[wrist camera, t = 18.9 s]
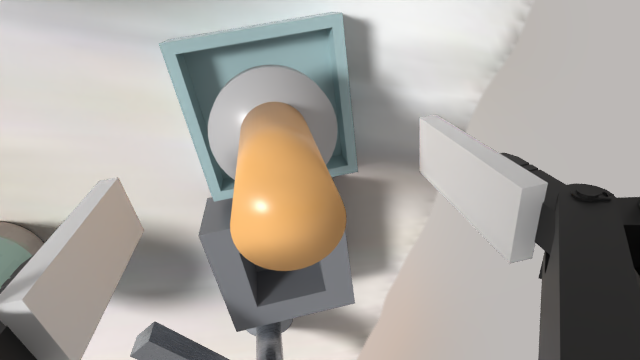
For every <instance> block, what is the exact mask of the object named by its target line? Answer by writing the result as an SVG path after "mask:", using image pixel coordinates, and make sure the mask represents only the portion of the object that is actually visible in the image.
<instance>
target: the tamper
mask: <svg viewBox="0 0 640 360" xmlns="http://www.w3.org/2000/svg"><path fill="white" fill-rule="evenodd" d="M208 139H209V144H210V148H211V150H212V153H213V155H214V157H215V159H216V161H217V162H218V164H219V165H220V167H221V168H222V169H223V170H224V171H225V172H226V173H227V174H228V175H229V176H230V177H231V178H232V179H234V180H235V184H234V193H233V202H232V211H231V220H230V232H231V236H232V239H233V242H234V244H235V246H236V248H237V249H238V250H239V252H240V253H241V254H242V255H243V256H244V257H245V258H246V259H248V260H249V261H250V262H252V263H254V264H256V265H258V266H260V267H263V268H266V269H270V270H276V271H292V270H298V269H302V268H306V267H308V266H311V265H313V264H315V263H317V262H319V261H321V260H322V259H324V258H325V257H326V256H328V255H329V254H330V253H331V252H332V251H333V250H334V249H335V247H336V246H337V245H338V243H339V242H340V240H341V238H342V236H343V234H344V231H345V227H346V210H345V207H344V204H343V201H342V199H341V197H340V195H339V193H338V190H337V188H336V186H335V184H334V182H333V180H332V177H331V175H330V173H329V171H328V169H327V167H326V165H327V163H328V162H329V160H330V158H331V156H332V154H333V151H334V149H335V145H336V141H337V120H336V115H335V112H334V109H333V107H332V105H331V103H330V101H329V99H328V98H327V96H326V95H325V93H324V92H323V91H322V90H321V89H320V88H319V86H318V85H317V84H316V83H315V82H314V81H313V80H312V79H311V78H309V77H308V76H307V75H305V74H304V73H302V72H300V71H298V70H296V69H293V68H290V67H287V66H282V65H272V64H269V65H260V66H255V67H252V68H249V69H246V70H244V71H242V72H240V73H239V74H237V75H236V76H234V77H233V78H232V79H230V80H229V81H228V82H227V83H226V84H225V86H224V87H223V88H222V89H221V91H220V92H219V94H218V96H217V98H216V100H215V102H214V105H213V107H212V110H211V112H210V116H209V121H208Z"/></svg>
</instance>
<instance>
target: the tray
mask: <svg viewBox="0 0 640 360" xmlns="http://www.w3.org/2000/svg"><path fill="white" fill-rule="evenodd" d="M159 46H160V49H161V52H162V54H163V57H164V60H165V63H166V66H167V69H168V72H169V74H170V77H171V80H172V83H173V86H174V89H175V92H176V95H177V97H178V100H179V103H180V106H181V109H182V112H183V115H184V118H185V120H186V123H187V126H188V129H189V132H190V135H191V138H192V140H193V143H194V146H195V149H196V152H197V155H198V158H199V161H200V163H201V166H202V169H203V172H204V175H205V178H206V181H207V184H208V186H209V189H210V192H211V195H212V198H213V201H214V202H215V201H220V200H225V199H229V198H233V193H234V184H235V180H234V179H232V178H231V177H230V176H229V175H228V174H227V173H226V172H225V171H224V170H223V169H222V168H221V167H220V165H219V164H218V162H217V161H216V159H215V157H214V155H213V153H212V150H211V148H210V144H209V139H208V121H209V116H210V112H211V110H212V107H213V105H214V102H215V100H216V98H217V96H218V94H219V92H220V91H221V89H222V88H223V87H224V86H225V84H226V83H227V82H228V81H229V80H230V79H232V78H233V77H234V76H236V75H237V74H239V73H240V72H242V71H244V70H246V69H249V68H252V67H255V66H260V65H269V64H272V65H282V66H287V67H290V68H293V69H296V70H298V71H300V72H302V73H304V74H305V75H307V76H308V77H309V78H311V79H312V80H313V81H314V82H315V83H316V84H317V85H318V86H319V88H320V89H321V90H322V91H323V92H324V93H325V95H326V96H327V98H328V99H329V101H330V103H331V105H332V107H333V109H334V112H335V115H336V120H337V141H336V145H335V149H334V151H333V154H332V156H331V158H330V160H329V162H328V163H327V165H326V167H327V169H328V171H329V173H330V175H331V177H335V176H340V175H344V174H349V173H354V172H358V167H357V157H356V146H355V136H354V126H353V116H352V106H351V96H350V86H349V76H348V66H347V56H346V46H345V36H344V26H343V15H342V13H339V12H330V13H325V14H319V15H313V16H307V17H301V18H295V19H289V20H283V21H277V22H271V23H265V24H259V25H253V26H247V27H241V28H235V29H229V30H223V31H217V32H211V33H205V34H199V35H194V36H188V37H182V38H176V39H170V40H167V41H164V42H162V43H159Z"/></svg>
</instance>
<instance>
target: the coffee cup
mask: <svg viewBox="0 0 640 360" xmlns="http://www.w3.org/2000/svg"><path fill="white" fill-rule="evenodd" d="M43 245H44V243H43V242H42V241H41V239H40V238H39V237H37V236H36V235H35V234H34V233H32V232H31V231H29V230H27V229H25V228H23V227H20V226H18V225H15V224H11V223H6V222H0V289H1V286H2V285H3V283H4V282H5V281H6V280H7V279H10V276H11V275H12V273H13V272H14V271H15V270H16V269H17V268H18V267H19V266H20V265H21V264H22V263H23V262H25V261H26V260H27V259H29V258H30V257H31V256H33V255H34V254H35V253H37V251H38V250H39V249H40V248H41V247H42V246H43Z"/></svg>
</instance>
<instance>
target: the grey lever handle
mask: <svg viewBox="0 0 640 360" xmlns="http://www.w3.org/2000/svg"><path fill="white" fill-rule="evenodd" d="M130 357H133V358H135V359H137V360H229V359H227V358H225V357H224V356H222V355H220V354H218V353H216V352H214V351H212V350H210V349H208V348H206V347H204V346H202V345H200V344H198V343H196V342H194V341H192V340H190V339H188V338H186V337H184V336H182V335H180V334H179V333H177V332H175V331H173V330H171V329H169V328H167V327H165V326H163V325H161V324H159V323H157V322H153V323H152V324H151V325H150V326H149V327H147V328H146V329H145V330H144V331H143V332H142V333H140V334H139V335H138V336H137V338H136V341H135V344H134V347H133V349H132V352H131V355H130ZM256 360H283V348H282V336H281V323H280V322H275V323H271V324H267V325H263V326H259V327H256Z"/></svg>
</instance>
